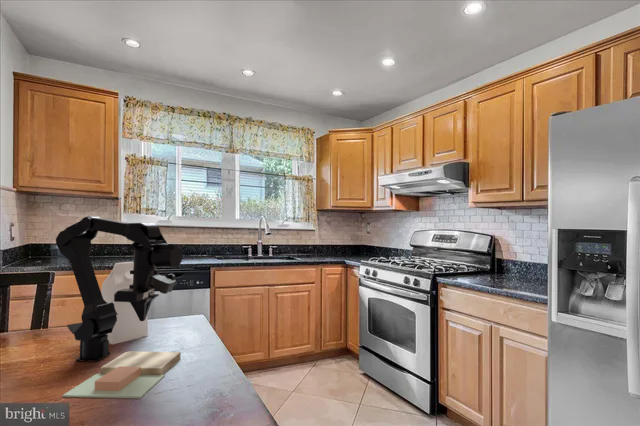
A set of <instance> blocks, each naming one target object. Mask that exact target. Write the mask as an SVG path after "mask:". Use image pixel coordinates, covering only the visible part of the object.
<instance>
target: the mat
mask: <svg viewBox="0 0 640 426" xmlns="http://www.w3.org/2000/svg"><path fill="white" fill-rule="evenodd" d="M104 375H106V374H101V373H96V374H94V375H92V376H90V377H89V378H87V379H86V380H84V381H82V382H81V383H80V384H78V385H76V386H75V387H73V388H72V389H70V390H69V391H68V390H67V392H65V393H63V394H62V398H95V399H96V398H97V399H99V398H100V399H101V398H102V399H104V398H106V399H142V398H143V397H144V396H145V395H146V394H147V393H149V392H150V391H151V390H152V389H153V387H155V386H156V385H157V384H158V383H159V382H160V381H162V380H163V379H164V378H165V377H166V376H165V374H163V375H140V376H139V377H137V378H136V379H135V380H133V381H132V382H131V383H129V384H128V385H126V386H125V387H124V388H122V389H121V390H120V391H107V390H94V389H95V381H96V380H98V379H99V378H101V377H103V376H104Z"/></svg>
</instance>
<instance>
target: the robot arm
mask: <svg viewBox="0 0 640 426" xmlns="http://www.w3.org/2000/svg"><path fill="white" fill-rule="evenodd" d="M99 232H102V233H107V234H111V235H117V236H122V237H124V238H125V239H127V240H129V241H130V242H132V243H131V244H130V246H128V247H127V251H133V262H134V267H133V270H131V271H130V274H133V284H132V285H129V289H122V290H119V291H117V292H116V293H115V294H114V302H130V303H131V305H132V307H133V308H134V310H135V312H136V314H137V316H138V318H139V320H140V321H145V319H146V316H147V317H148V313H149V310H150V307H151V304H152V302H153V301H154V300H155V299H156V298H158V297H159V296H160V294H164V295H165V294H168V293H171V292H172V291H173V289H174V286H176V285H177V280H176V275H175V274H173V273H169V274H166V275H160V270H159V268H170V269H171V268H173V269H176V268H178V267H180V265H181V264H182V261H183V254H182V251H181V249H180V248H179V244H178V243H168V242H167V240H166V239H165V237H164V235H163V234H162V232H161V230H160V227H159V225H158V224H157V223H154V222H153V223H151V222H127V221H126V222H125V221H119V220H114V219H109V218H102V217H101V216H90V215H88V216H85V217H82V218H81V219H80V220H79V221H78V222H76V223H74V224H72V225H70V226H67V227H66V228H65V229H64V230H62V231H60V232H58V234H57V236H56V238H55V244H56V246H57V248H58V250H59V252H60V254H61V255H63V256H64V257H65V258H66V259H67V260H68V261H69V262H70V265H71V266H70V267H71V269H72V273H73V275H74V278H75V282H76V285H77V288H78V291H79V293H80V296H81V300H82V302H83V309H82V313H81V323H82V325H81V326H80V327H79V328H78V329H77V330H76V331H75V332H74V334H73V335H74V339H75V341H79V357H77V358H76V359H75V361H76V362H98V361H100V360H102V359H104V358H105V357H108V356H109V355H110V354H111V351H109V345H110V343H109V340H108V335H106V334H108V333H112V330H113V327H114V325H115V323H116V322H117V316H116V315H118V314H117V312H116V311H115V307H114V304H113V302H111V303H107V302H106V301H105V300H104V299H103V297H102V294H101V289H100V285H99V283H98V278H97V275H96V274H95V270H94V266H93V263H92V261H91V258H90V253H91V251H92V240H94V239H95V238H96V237H97V235H98V233H99ZM155 291H158V292H160V294H155V293H156V292H155Z"/></svg>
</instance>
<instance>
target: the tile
mask: <svg viewBox="0 0 640 426" xmlns="http://www.w3.org/2000/svg"><path fill="white" fill-rule="evenodd" d="M140 375H141V367H121V366H119V367H117V368H115V369H114V370H112V371H111V372H109V373H107V374H106V375H104V376H103V377H101V378H99V379H98V380H96V381H95V389H94V390H107V391H120V390H121V389H122V388H124V387H125V386H126V385H128V384H129V383H131V382H132V381H133V380H135V379H136V378H137V377H139V376H140Z"/></svg>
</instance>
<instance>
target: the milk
mask: <svg viewBox="0 0 640 426" xmlns="http://www.w3.org/2000/svg"><path fill="white" fill-rule="evenodd" d="M133 267H134V261H126V262H115V263H114V265H113V268H112V270H111V271H110V273H109V274H108V276H106V278H105V279H104V281H103V282H102V285H101V289H100V291H101V294H102V297H103V299H104V300H105V301H106V302H107V303H111V302H113V304H114V307H115V311H116V312H117V314H118V315H116V316H117V322H116V323H115V325H114V327H113V330H112V333H108V334H106V335H108V340H109V345H116V344H119V343H121V344H122V343H123V342H124V343H125V342H128V341H132V340H133V341H134V340H136V339H140V338H144V337H148V336H149V329H148V325H149V324H148V323H149V322H148V315H147V316H146V319H145V321H140V320H139V318H138V316H137V314H136V312H135V310H134V308H133V307H132V305H131V303H130V302H114V294H115V293H116V292H117V291H119V290H122V289H129V285H132V284H133V274H130V271H131V270H133Z"/></svg>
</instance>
